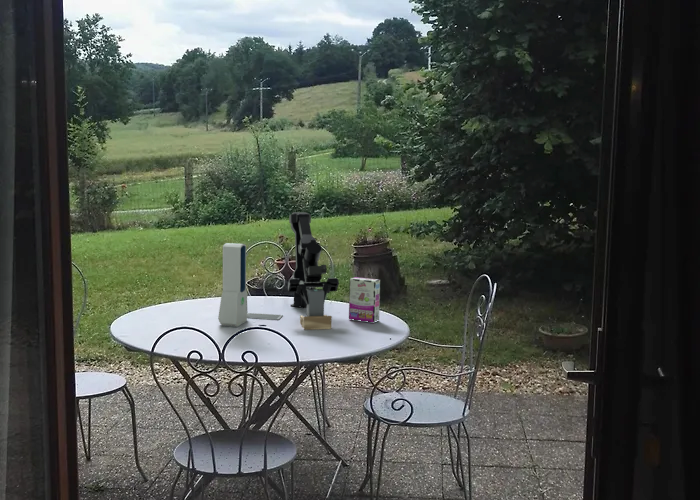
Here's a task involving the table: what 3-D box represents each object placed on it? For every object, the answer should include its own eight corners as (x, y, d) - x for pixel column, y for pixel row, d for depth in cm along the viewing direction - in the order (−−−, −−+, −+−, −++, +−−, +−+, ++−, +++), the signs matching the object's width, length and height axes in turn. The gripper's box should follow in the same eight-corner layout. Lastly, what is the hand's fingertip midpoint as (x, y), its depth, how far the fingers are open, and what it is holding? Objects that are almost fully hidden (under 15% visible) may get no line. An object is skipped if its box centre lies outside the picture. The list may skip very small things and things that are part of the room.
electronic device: (236, 327, 273) (237, 246, 269) (217, 326, 274) (217, 245, 270) (248, 320, 285) (248, 242, 281) (229, 318, 287) (229, 241, 282)
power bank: (306, 320, 281) (307, 288, 279) (321, 320, 282) (321, 288, 280) (308, 323, 276) (309, 291, 274) (323, 323, 277) (324, 291, 275)
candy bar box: (379, 321, 289) (381, 279, 286) (374, 323, 284) (375, 281, 282) (354, 317, 294) (355, 276, 292) (348, 320, 289) (349, 278, 287)
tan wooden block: (300, 323, 282) (300, 311, 282) (326, 322, 284) (326, 310, 284) (304, 329, 273) (304, 317, 272) (331, 328, 275) (331, 316, 274)
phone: (248, 315, 295) (248, 312, 295) (282, 317, 293) (282, 314, 293) (243, 319, 288) (243, 316, 288) (278, 321, 286) (278, 318, 286)
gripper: (289, 257, 278) (293, 292, 269) (338, 256, 282) (344, 291, 273) (286, 274, 287) (289, 309, 278) (333, 273, 291) (339, 307, 282)
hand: (315, 303), depth 277 cm, fingers closed on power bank, 5 cm apart
